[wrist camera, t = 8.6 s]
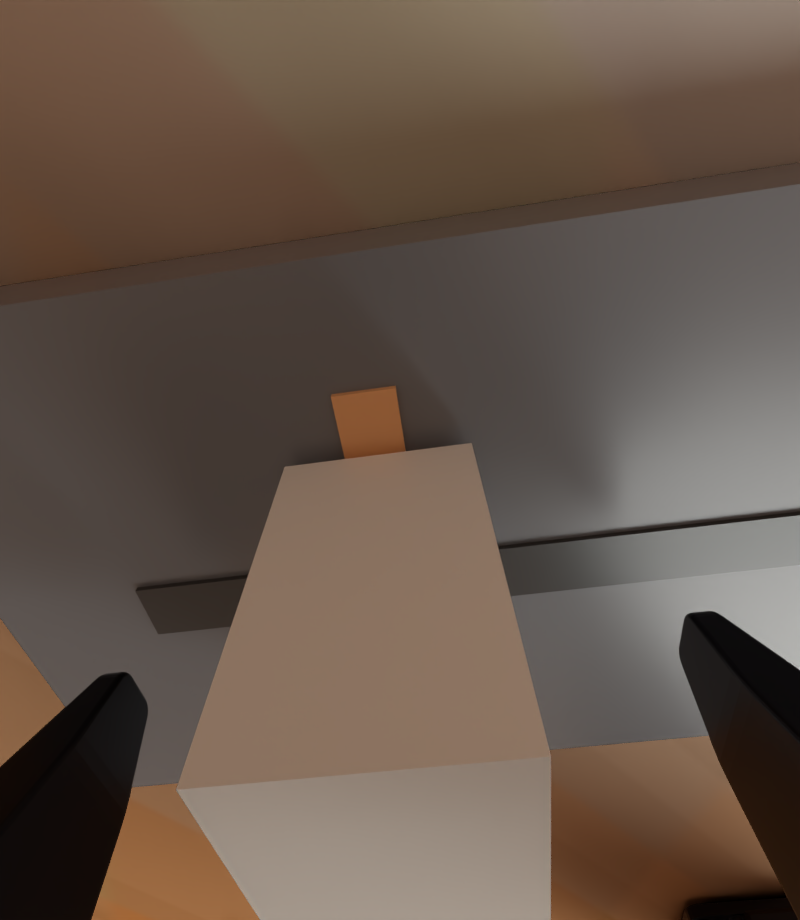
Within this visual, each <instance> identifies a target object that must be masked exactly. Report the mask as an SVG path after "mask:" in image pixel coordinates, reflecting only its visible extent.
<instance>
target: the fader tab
mask: <svg viewBox="0 0 800 920" xmlns="http://www.w3.org/2000/svg"><path fill="white" fill-rule="evenodd" d="M176 791H177V792H178V794H179V795H180V797H181V798H182V800H183V801H184V803H185V805H186V806H187V808H188V809H189V811H190V812H191V814H192V815H193V817H194V818H195V820H196V822H197V823H198V825H199V826H200V828H201V829H202V831H203V832H204V834H205V835H206V837H207V839H208V840H209V842H210V843H211V845H212V846H213V848H214V849H215V851H216V852H217V854H218V856H219V857H220V859H221V860H222V862H223V863H224V865H225V866H226V868H227V869H228V871H229V873H230V874H231V876H232V877H233V879H234V880H235V882H236V883H237V885H238V886H239V888H240V890H241V891H242V893H243V894H244V896H245V897H246V899H247V900H248V902H249V903H250V905H251V907H252V908H253V910H254V911H255V913H256V914H257V916H258V917H259V919H260V920H551V754H550V750H549V746H548V742H547V738H546V734H545V730H544V727H543V723H542V719H541V715H540V711H539V707H538V703H537V699H536V695H535V691H534V687H533V683H532V679H531V675H530V671H529V667H528V663H527V659H526V655H525V652H524V648H523V644H522V640H521V636H520V632H519V628H518V624H517V620H516V616H515V612H514V608H513V604H512V600H511V596H510V592H509V588H508V584H507V580H506V576H505V573H504V569H503V565H502V561H501V557H500V553H499V549H498V545H497V541H496V537H495V533H494V529H493V525H492V521H491V517H490V513H489V509H488V505H487V501H486V498H485V494H484V490H483V486H482V482H481V478H480V474H479V470H478V466H477V462H476V458H475V454H474V450H473V446H472V443H467V444H459V445H451V446H443V447H436V448H428V449H420V450H412V451H404V452H396V453H389V454H381V455H373V456H365V457H357V458H349V459H341V460H334V461H326V462H318V463H310V464H302V465H294V466H286V467H284V470H283V473H282V476H281V479H280V482H279V485H278V488H277V491H276V494H275V497H274V500H273V503H272V506H271V509H270V512H269V515H268V518H267V521H266V524H265V527H264V530H263V533H262V536H261V539H260V542H259V545H258V547H257V550H256V553H255V556H254V559H253V562H252V565H251V568H250V571H249V574H248V577H247V580H246V583H245V586H244V589H243V592H242V595H241V598H240V601H239V604H238V607H237V610H236V613H235V616H234V619H233V622H232V625H231V628H230V631H229V634H228V637H227V640H226V643H225V646H224V649H223V652H222V655H221V658H220V661H219V664H218V666H217V669H216V672H215V675H214V678H213V681H212V684H211V687H210V690H209V693H208V696H207V699H206V702H205V705H204V708H203V711H202V714H201V717H200V720H199V723H198V726H197V729H196V732H195V735H194V738H193V741H192V744H191V747H190V750H189V753H188V756H187V759H186V762H185V765H184V768H183V771H182V774H181V777H180V780H179V782H178V785H177V788H176Z"/></svg>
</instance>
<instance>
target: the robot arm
mask: <svg viewBox="0 0 800 920" xmlns="http://www.w3.org/2000/svg"><path fill="white" fill-rule="evenodd" d="M679 657H680V661H681V664H682V667H683V670H684V672H685V675H686V677H687V680H688V683H689V685H690V688H691V690H692V693H693V696H694V698H695V701H696V703H697V706H698V709H699V711H700V714H701V717H702V719H703V722H704V724H705V727H706V730H707V732H708V735H709V737H710V740H711V743H712V745H713V748H714V750H715V753H716V755H717V758H718V760H719V762H720V764H721V767H722V769H723V771H724V773H725V775H726V777H727V779H728V781H729V783H730V785H731V787H732V789H733V791H734V793H735V795H736V797H737V799H738V801H739V803H740V805H741V807H742V809H743V811H744V813H745V815H746V817H747V819H748V821H749V823H750V825H751V827H752V829H753V831H754V833H755V835H756V837H757V839H758V841H759V843H760V845H761V847H762V849H763V851H764V853H765V854H766V856H767V858H768V860H769V862H770V864H771V866H772V868H773V870H774V872H775V874H776V876H777V878H778V880H779V882H780V884H781V886H782V888H783V890H784V892H785V894H786V896H787V898H776V899H762V900H748V901H734V902H719V903H705V904H695V905H691V906H689V907H687V908H686V909H685V911H684V914H683V918H682V920H800V670H799V669H798V668H796V667H795V666H794V665H792V664H791V663H789V662H788V661H786V660H785V659H784V658H782V657H781V656H779V655H778V654H776V653H775V652H773V651H772V650H771V649H769V648H768V647H766V646H765V645H763V644H762V643H761V642H759V641H758V640H756V639H755V638H753V637H752V636H751V635H749V634H748V633H746V632H745V631H743V630H742V629H741V628H739V627H738V626H736V625H735V624H733V623H732V622H730V621H729V620H728V619H726V618H725V617H723V616H722V615H720V614H719V613H717V612H714V611H703V612H693V613H688V614H687V615H686V616H685V618H684V622H683V628H682V633H681V639H680V644H679ZM147 717H148V705H147V701H146V699H145V697H144V696H143V694H142V692H141V691H140V689H139V687H138V686H137V684H136V683H135V681H134V679H133V678H132V676H131V675H130V674H129V673H127V672H116V673H107V674H103V675H101V676H99V677H98V678H97V679H95V680H94V681H93V682H92V683H91V684H90V685H89V686H88V687H87V688H86V689H85V690H83V691H82V692H81V693H80V694H79V695H78V696H77V697H76V698H75V699H74V700H73V701H71V702H70V703H69V704H68V705H67V706H66V707H65V708H64V709H63V710H62V711H61V712H60V713H58V714H57V715H56V716H55V717H54V718H53V719H52V720H51V721H50V722H49V723H48V724H46V725H45V726H44V727H43V728H42V729H41V730H40V731H39V732H38V733H37V734H36V735H34V736H33V737H32V738H31V739H30V740H29V741H28V742H27V743H26V744H25V745H24V746H22V747H21V748H20V749H19V750H18V751H17V752H16V753H15V754H14V755H13V756H12V757H11V758H9V759H8V760H7V761H6V762H5V763H4V764H3V765H2V766H1V767H0V920H91V919H92V916H93V913H94V909H95V906H96V903H97V900H98V897H99V894H100V891H101V888H102V885H103V882H104V879H105V876H106V873H107V870H108V866H109V863H110V860H111V857H112V854H113V851H114V848H115V845H116V842H117V839H118V836H119V833H120V830H121V826H122V823H123V820H124V816H125V813H126V809H127V805H128V801H129V798H130V793H131V789H132V784H133V780H134V775H135V771H136V767H137V762H138V758H139V753H140V749H141V744H142V740H143V735H144V731H145V727H146V722H147Z"/></svg>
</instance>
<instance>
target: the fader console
mask: <svg viewBox="0 0 800 920" xmlns="http://www.w3.org/2000/svg"><path fill="white" fill-rule="evenodd" d="M467 443H472V446H473V450H474V454H475V458H476V462H477V466H478V470H479V474H480V478H481V482H482V486H483V490H484V494H485V498H486V501H487V505H488V509H489V513H490V517H491V521H492V525H493V529H494V533H495V537H496V541H497V545H498V549H499V553H500V557H501V561H502V565H503V569H504V573H505V576H506V580H507V584H508V588H509V592H510V596H511V600H512V604H513V608H514V612H515V616H516V620H517V624H518V628H519V632H520V636H521V640H522V644H523V648H524V652H525V655H526V659H527V663H528V667H529V671H530V675H531V679H532V683H533V687H534V691H535V695H536V699H537V703H538V707H539V711H540V715H541V719H542V723H543V727H544V730H545V734H546V738H547V742H548V746H549V750H553V749H564V748H575V747H587V746H598V745H609V744H620V743H631V742H642V741H653V740H665V739H676V738H687V737H698V736H709V735H708V732H707V730H706V727H705V724H704V722H703V719H702V717H701V714H700V711H699V709H698V706H697V703H696V701H695V698H694V696H693V693H692V690H691V688H690V685H689V683H688V680H687V677H686V675H685V672H684V670H683V667H682V664H681V661H680V657H679V644H680V639H681V633H682V628H683V622H684V618H685V616H686V615H687V614H688V613H693V612H703V611H714V612H717V613H719V614H720V615H722V616H723V617H725V618H726V619H728V620H729V621H730V622H732V623H733V624H735V625H736V626H738V627H739V628H741V629H742V630H743V631H745V632H746V633H748V634H749V635H751V636H752V637H753V638H755V639H756V640H758V641H759V642H761V643H762V644H763V645H765V646H766V647H768V648H769V649H771V650H772V651H773V652H775V653H776V654H778V655H779V656H781V657H782V658H784V659H785V660H786V661H788V662H789V663H791V664H792V665H794V666H795V667H796V668H798V669H799V670H800V163H794V164H787V165H781V166H774V167H768V168H761V169H755V170H748V171H742V172H736V173H729V174H723V175H716V176H710V177H703V178H697V179H690V180H684V181H677V182H671V183H664V184H658V185H652V186H645V187H639V188H632V189H626V190H619V191H613V192H606V193H600V194H593V195H587V196H581V197H574V198H568V199H561V200H555V201H548V202H542V203H535V204H529V205H522V206H516V207H510V208H503V209H497V210H490V211H484V212H477V213H471V214H464V215H458V216H451V217H445V218H438V219H432V220H426V221H419V222H413V223H406V224H400V225H393V226H387V227H380V228H374V229H367V230H361V231H355V232H348V233H342V234H335V235H329V236H322V237H316V238H309V239H303V240H296V241H290V242H283V243H277V244H271V245H264V246H258V247H251V248H245V249H238V250H232V251H225V252H219V253H212V254H206V255H200V256H193V257H187V258H180V259H174V260H167V261H161V262H154V263H148V264H141V265H135V266H128V267H122V268H116V269H109V270H103V271H96V272H90V273H83V274H77V275H70V276H64V277H57V278H51V279H45V280H38V281H32V282H25V283H19V284H12V285H6V286H0V619H1V620H2V621H3V623H4V624H5V625H6V627H7V628H8V629H9V631H10V632H11V634H12V635H13V636H14V638H15V639H16V640H17V642H18V643H19V644H20V646H21V647H22V649H23V650H24V651H25V653H26V654H27V655H28V657H29V658H30V659H31V661H32V662H33V664H34V665H35V666H36V668H37V669H38V670H39V672H40V673H41V674H42V676H43V677H44V679H45V680H46V681H47V683H48V684H49V685H50V687H51V688H52V689H53V691H54V692H55V694H56V695H57V696H58V698H59V699H60V700H61V702H62V703H63V704H64V706H65V707H66V706H67V705H68V704H69V703H70V702H71V701H73V700H74V699H75V698H76V697H77V696H78V695H79V694H80V693H81V692H82V691H83V690H85V689H86V688H87V687H88V686H89V685H90V684H91V683H92V682H93V681H94V680H95V679H97V678H98V677H99V676H101V675H103V674H107V673H116V672H127V673H129V674H130V675H131V676H132V678H133V679H134V681H135V683H136V684H137V686H138V687H139V689H140V691H141V692H142V694H143V696H144V697H145V699H146V701H147V705H148V717H147V722H146V727H145V731H144V735H143V740H142V744H141V749H140V753H139V758H138V762H137V767H136V771H135V775H134V780H133V784H132V787H141V786H152V785H163V784H174V783H178V782H179V780H180V777H181V774H182V771H183V768H184V765H185V762H186V759H187V756H188V753H189V750H190V747H191V744H192V741H193V738H194V735H195V732H196V729H197V726H198V723H199V720H200V717H201V714H202V711H203V708H204V705H205V702H206V699H207V696H208V693H209V690H210V687H211V684H212V681H213V678H214V675H215V672H216V669H217V666H218V664H219V661H220V658H221V655H222V652H223V649H224V646H225V643H226V640H227V637H228V634H229V631H230V628H231V625H232V622H233V619H234V616H235V613H236V610H237V607H238V604H239V601H240V598H241V595H242V592H243V589H244V586H245V583H246V580H247V577H248V574H249V571H250V568H251V565H252V562H253V559H254V556H255V553H256V550H257V547H258V545H259V542H260V539H261V536H262V533H263V530H264V527H265V524H266V521H267V518H268V515H269V512H270V509H271V506H272V503H273V500H274V497H275V494H276V491H277V488H278V485H279V482H280V479H281V476H282V473H283V470H284V467H286V466H294V465H302V464H310V463H318V462H326V461H334V460H341V459H349V458H357V457H365V456H373V455H381V454H389V453H396V452H404V451H412V450H420V449H428V448H436V447H443V446H451V445H459V444H467Z"/></svg>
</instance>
